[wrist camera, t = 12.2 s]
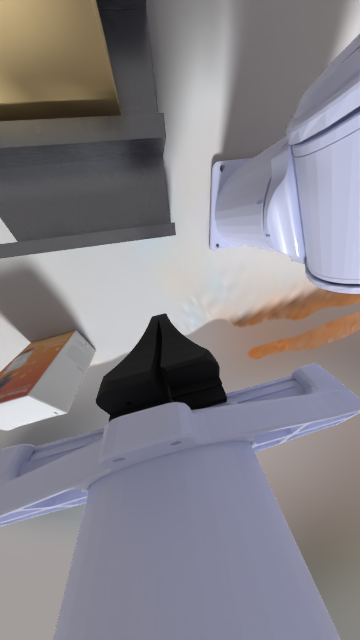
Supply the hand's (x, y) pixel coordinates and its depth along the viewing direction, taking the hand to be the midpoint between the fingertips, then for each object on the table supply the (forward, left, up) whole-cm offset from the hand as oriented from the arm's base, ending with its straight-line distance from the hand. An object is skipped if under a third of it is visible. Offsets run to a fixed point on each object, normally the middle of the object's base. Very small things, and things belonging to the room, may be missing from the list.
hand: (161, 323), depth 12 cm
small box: (+18, +8, -10) cm, 22 cm away
